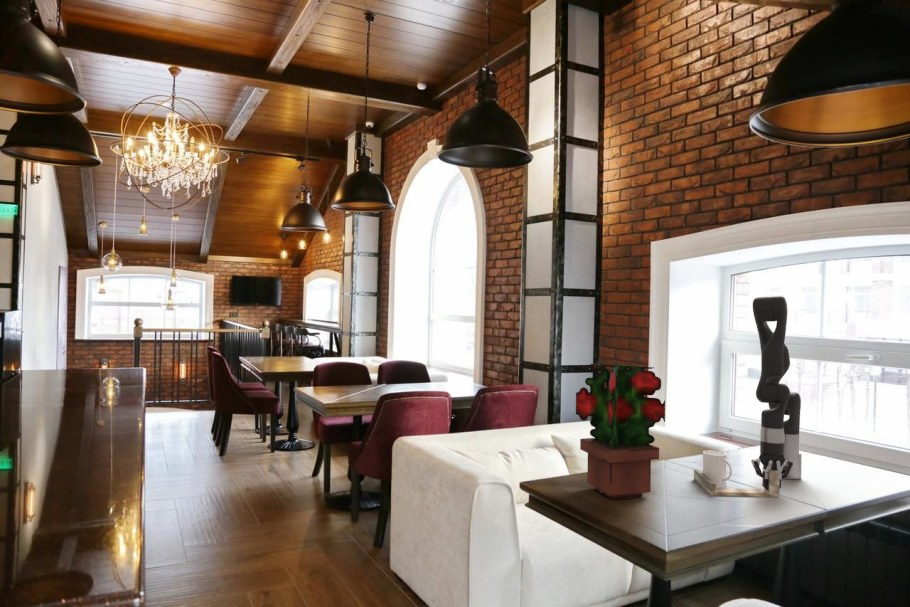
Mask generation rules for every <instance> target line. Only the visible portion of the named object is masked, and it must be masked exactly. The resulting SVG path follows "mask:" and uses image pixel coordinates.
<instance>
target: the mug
mask: <svg viewBox="0 0 910 607" xmlns="http://www.w3.org/2000/svg"><path fill="white" fill-rule="evenodd" d="M727 466H728V468H729V475H728V476H727ZM732 472H733V470H732V466H731V463H730V462H729V461H728V460H727V453H726V452H724V451H720V450H709V449H708V450H704V451H702V473H703V474H704V475H705V476H707V477H708V478H709V479H710V480H712V481H713V482H714V483H715V484H716V488H728V487H727V486H728V485H727V481H728V480H730V479H731V477H732V475H733V473H732Z"/></svg>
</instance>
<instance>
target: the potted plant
mask: <svg viewBox="0 0 910 607" xmlns="http://www.w3.org/2000/svg"><path fill="white" fill-rule="evenodd" d="M606 367H611V368H610V369H609V368H606ZM654 368H655V366H654V367H653V366H648V367H647V366H638V365H637V366H635V365H634V366H633V365H627V363H623V364H620V365H618V364H617V365H615V364H614V365H613V364H601V363H600V364H598V363H590V369H591V370H592V371H594V372H595V371H596V372H599V373H597V374H596V375H595V377H587V378H586V379H585V380H584V383H585V385H586V386H589V388H590V389H589V390H588V388H586V387H584V386H583V387H581V388H580V389H579V391H576V392H575V414H576V415H577V416H579V419H580V420H581V421H585V422H586V421H587V420H588V418H589V417H593V418H591V419H590V420H589V423H590V426H591V427H594V428H592V429H590V431H589V434H590V436H591V437H588V438H587V437H586V438H580V442H579V443H580V446H579V448H580V450H581V451H582V452H585V453H587V475H586V476H587V478H586V479H587V484H589V485H590V486H593V488H594V490H595V489H597V490H599V491H601V492H602V493H604V494H605V495H607V496H609V497H610V498H609V497H608V498H609V499H611V498H612V499H611V500H615V499H614V498H622V499H628V498H627V497H633V498H642V497H643V494H644V493H645V494H646V493H647V494H648V493H651V490H652V489H651V487H652V486H651V474H652V472H651V469H652V466H651V464H652V463H651V461H653V460H655V461H656V460H660V447H659V446H655V445H652V444H653V443H654V442H655V441H656V439H655V437H654V436H653V435H652V434H650V428H654V427H655V424H657V423H660V422H661V421H662V420H663V422H664V423H666V399H664V401H663V403H662V400H661V399H659V398H657V397H650V396H653V395H655V393H656V391H660V390H661V389H662V380H661V378H660V377H658V376H656V373H655V372H654V371H651V370H652V369H654ZM645 369H649V370H645ZM610 370H611V372H610ZM605 384H606V385H605ZM605 387H606V388H605ZM646 396H649V397H646ZM597 490H596V491H597ZM602 493H601V494H602ZM604 494H603V495H604ZM605 495H604V496H605ZM607 496H606V497H607ZM641 496H642V497H641Z"/></svg>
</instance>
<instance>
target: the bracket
mask: <svg viewBox="0 0 910 607" xmlns="http://www.w3.org/2000/svg"><path fill="white" fill-rule="evenodd" d="M766 469H767V468H766ZM779 476H780V471H777V470H775V469H771V470H770V472H769V477H768V479H769V490H766V489H764V488H739V487H738V488H733V487H732V488H731V487H725V488H716V484H715V483H714V482H713V481H712V480H710V479H709V478H708V477H707V476H705V475H704V474H703V471H701V470H699V469H695V468H694V469H693V481H694V482H696V483H697V484H698V485H699V486H700V488H701V487H702V489H703V490H704V491H706V493H708V494H709V495H710V496H726V497H758V498H759V497H763V498H780V489H779Z"/></svg>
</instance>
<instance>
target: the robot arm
mask: <svg viewBox="0 0 910 607" xmlns="http://www.w3.org/2000/svg"><path fill="white" fill-rule="evenodd" d="M752 313H753V317H754V322H755V325H756V330H757V334H758V338H759V344H760V351H761V358H760V360H761V365H760V366H761V367H760V368H761V371H760V378H759V381H758V384H757V386H756V387H757V388H756V390H755V397H756V399H757V400H758V401H759V402H760V403H763V404H768V408H769V409H763V410H761V416H760V417H761V418H760V419H761V420H760V421H761V423H760V424H761V425H760V426H761V427H760V433H759V434H760V435H759V436H760V440H759V441H760V442H759V447H760V449H759V456H758V458H756V459H751V462H750V463H751V464H752V466H753V469H754V471H755V473H756V475H757V476H758V477H760V478H761V479H762V482H761V484H762V487H763V489H766V490H769V479H768V477H769V472H770V470H771V469H775V470H777V471H780V476H779V490H780V489H781V488H782V479H784V480H797V479H798V480H799V479H802V458H803V457H802V453H801V452H800V429H801V428H800V427H801V426H800V424H801V421H800V420H801V409H802V400H801V395H800V393H799V392H796V391H791V389H790V388H789V386H788V385H787V384H785V383H780V381H781V380H782V379H783V377H784V376H785V375H786V373H787V372H788V371H789V370H790V366H791V358H790V353H789V349H788V346H787V345H786V343H785V341H786V340H785V339H786V331H787V324H788V302H787V300H786V298H785V296H783V295H773V296H770V295H769V296H758V297H755V298H754V299H753V301H752ZM768 322H776V326H775V329H774V331H773V330H772V329H771V328H770V326H769V324H768ZM785 416H788V419H787V420H784V418H785ZM761 464H762V468H761V467H760V465H761ZM766 468H767V469H766ZM761 469H762V470H761Z"/></svg>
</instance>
